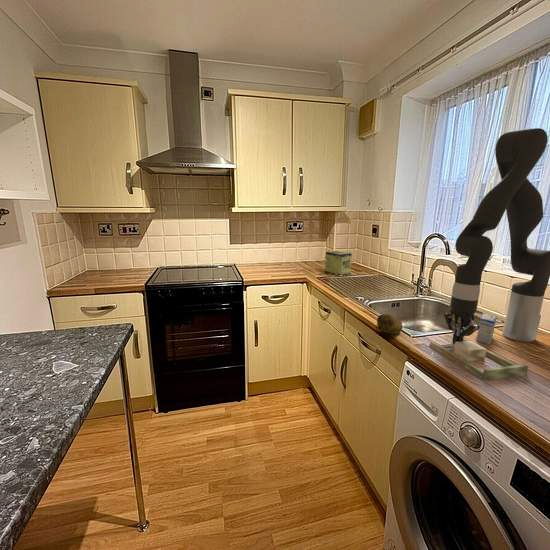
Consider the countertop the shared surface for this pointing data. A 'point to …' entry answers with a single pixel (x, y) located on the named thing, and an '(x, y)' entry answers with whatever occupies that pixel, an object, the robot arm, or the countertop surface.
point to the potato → (389, 324)
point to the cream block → (470, 351)
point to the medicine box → (486, 328)
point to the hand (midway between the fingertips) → (456, 344)
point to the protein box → (338, 262)
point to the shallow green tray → (487, 374)
